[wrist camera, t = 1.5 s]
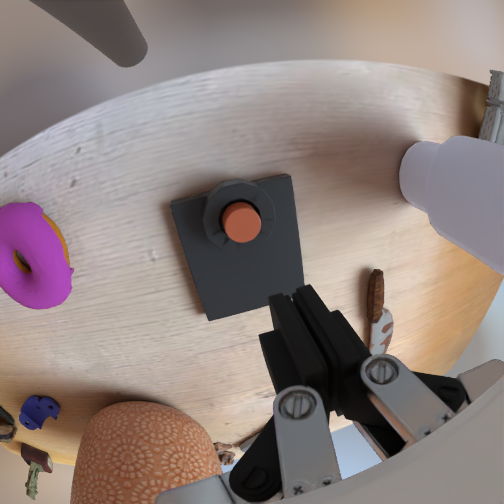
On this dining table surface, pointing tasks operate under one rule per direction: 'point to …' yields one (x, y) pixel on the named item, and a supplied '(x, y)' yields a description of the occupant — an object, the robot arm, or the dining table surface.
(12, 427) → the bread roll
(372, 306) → the kitchen knife
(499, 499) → the robot arm
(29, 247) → the donut
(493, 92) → the architectural model
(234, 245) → the push button panel
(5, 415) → the folding knife
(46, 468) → the small statue on base
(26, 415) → the bracket
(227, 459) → the tree bark
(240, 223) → the button
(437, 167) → the soap bottle
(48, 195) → the dining table surface
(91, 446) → the planter
